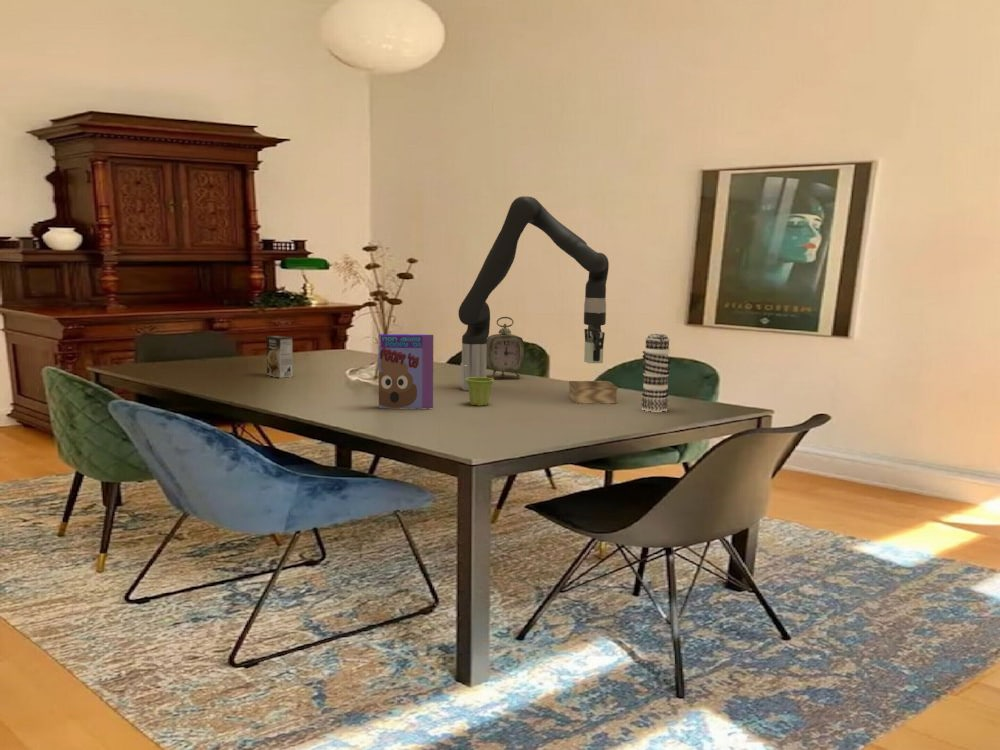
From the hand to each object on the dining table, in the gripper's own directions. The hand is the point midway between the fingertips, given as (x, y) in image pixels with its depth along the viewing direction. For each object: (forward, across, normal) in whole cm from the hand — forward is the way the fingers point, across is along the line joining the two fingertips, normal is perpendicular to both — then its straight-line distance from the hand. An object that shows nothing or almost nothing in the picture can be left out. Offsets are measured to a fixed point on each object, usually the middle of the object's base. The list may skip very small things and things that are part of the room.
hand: (593, 359), depth 297 cm
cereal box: (+14, +4, -66) cm, 68 cm away
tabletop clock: (+14, -54, -18) cm, 59 cm away
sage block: (+1, 0, 0) cm, 1 cm away
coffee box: (+14, -71, -106) cm, 128 cm away
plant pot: (+14, +2, -41) cm, 44 cm away
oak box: (+15, 0, 0) cm, 15 cm away
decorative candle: (+15, +21, +14) cm, 29 cm away
